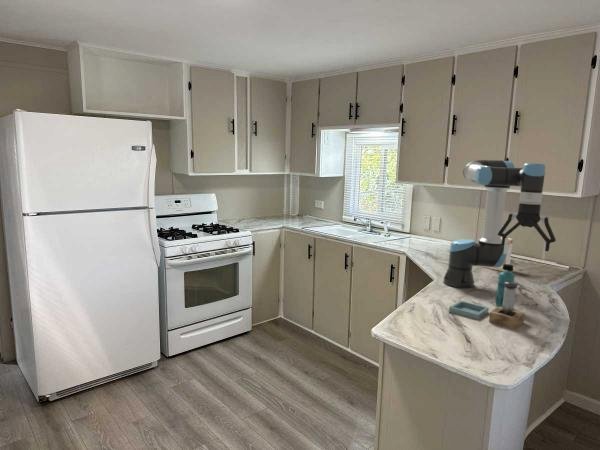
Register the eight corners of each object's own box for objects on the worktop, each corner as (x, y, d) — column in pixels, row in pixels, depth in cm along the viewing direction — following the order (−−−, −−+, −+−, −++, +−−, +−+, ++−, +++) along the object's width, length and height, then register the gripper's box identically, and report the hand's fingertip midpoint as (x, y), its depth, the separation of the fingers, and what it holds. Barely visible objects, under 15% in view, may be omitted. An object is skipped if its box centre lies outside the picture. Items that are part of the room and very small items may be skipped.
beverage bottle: (497, 304, 194) (501, 261, 190) (512, 308, 189) (518, 264, 186) (492, 308, 188) (497, 264, 185) (509, 312, 184) (514, 267, 181)
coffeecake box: (479, 266, 263) (483, 235, 260) (485, 264, 267) (488, 234, 264) (504, 272, 252) (508, 239, 249) (509, 270, 256) (513, 238, 253)
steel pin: (497, 321, 170) (502, 282, 167) (501, 318, 174) (506, 280, 171) (510, 325, 167) (515, 285, 164) (514, 322, 170) (519, 283, 168)
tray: (448, 313, 180) (449, 307, 179) (460, 307, 189) (460, 300, 188) (477, 321, 172) (478, 314, 171) (487, 314, 181) (488, 307, 180)
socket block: (488, 324, 170) (489, 312, 169) (497, 317, 177) (498, 306, 177) (515, 331, 163) (517, 319, 163) (523, 324, 171) (524, 312, 170)
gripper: (493, 201, 170) (488, 252, 173) (566, 206, 156) (559, 263, 159) (497, 199, 176) (492, 250, 179) (568, 205, 162) (560, 259, 165)
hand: (523, 256), depth 169 cm, fingers open, 13 cm apart
